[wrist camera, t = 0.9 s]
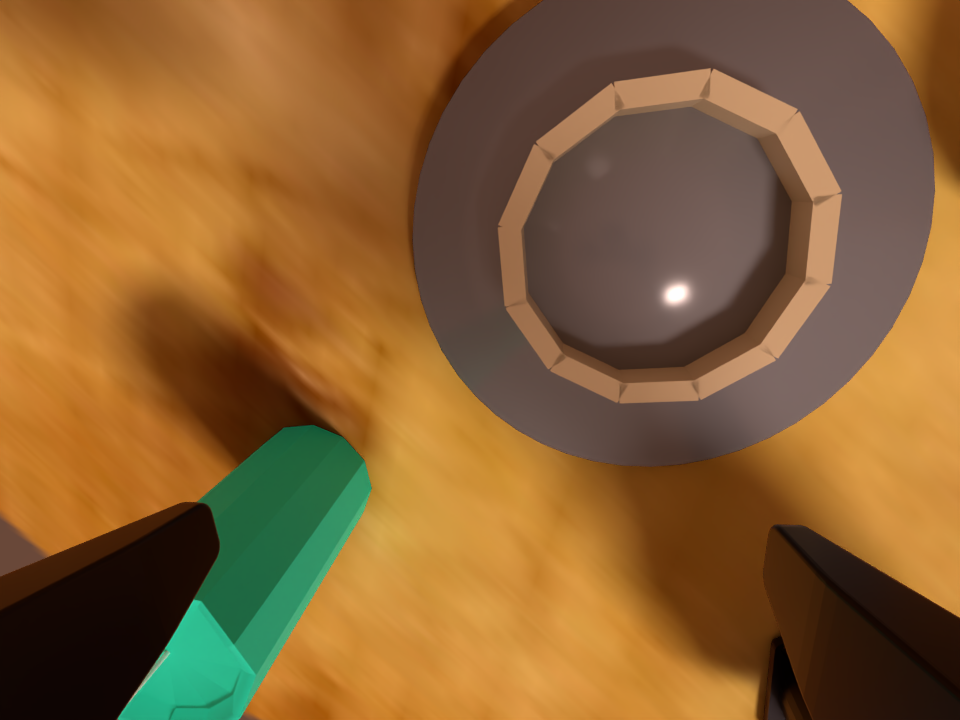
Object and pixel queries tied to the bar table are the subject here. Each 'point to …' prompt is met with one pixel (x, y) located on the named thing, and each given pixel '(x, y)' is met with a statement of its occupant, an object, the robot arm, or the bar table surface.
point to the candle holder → (672, 220)
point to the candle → (257, 573)
